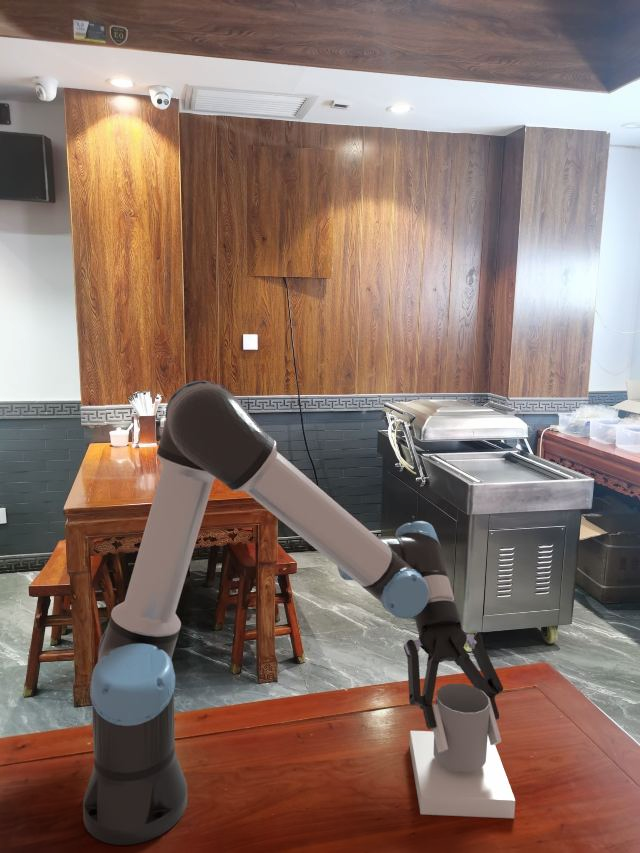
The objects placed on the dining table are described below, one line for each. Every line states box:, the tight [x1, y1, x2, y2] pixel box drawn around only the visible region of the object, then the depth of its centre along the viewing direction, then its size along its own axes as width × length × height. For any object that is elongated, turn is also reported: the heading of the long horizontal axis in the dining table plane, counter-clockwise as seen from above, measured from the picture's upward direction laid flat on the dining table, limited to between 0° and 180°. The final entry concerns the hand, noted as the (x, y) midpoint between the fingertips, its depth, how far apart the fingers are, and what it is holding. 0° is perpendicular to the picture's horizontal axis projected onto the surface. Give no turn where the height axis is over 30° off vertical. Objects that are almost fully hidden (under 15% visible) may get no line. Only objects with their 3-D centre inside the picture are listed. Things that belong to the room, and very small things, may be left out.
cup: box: [434, 683, 490, 772], centre depth 104 cm, size 8×8×10 cm
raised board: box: [409, 730, 516, 819], centre depth 105 cm, size 14×16×3 cm
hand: (469, 746), depth 101 cm, fingers closed on cup, 8 cm apart
